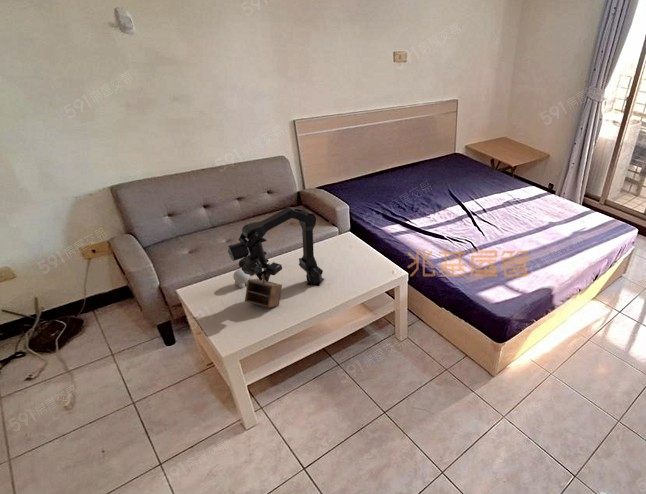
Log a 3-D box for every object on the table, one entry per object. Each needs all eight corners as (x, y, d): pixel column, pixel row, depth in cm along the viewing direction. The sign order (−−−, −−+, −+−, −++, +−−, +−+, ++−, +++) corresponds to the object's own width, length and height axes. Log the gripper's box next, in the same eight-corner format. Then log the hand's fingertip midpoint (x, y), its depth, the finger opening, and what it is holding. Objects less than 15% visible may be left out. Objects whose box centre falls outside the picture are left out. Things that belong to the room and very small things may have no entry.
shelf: (259, 269, 193) (249, 270, 187) (283, 275, 191) (273, 276, 184) (255, 299, 195) (244, 301, 188) (278, 305, 192) (268, 307, 185)
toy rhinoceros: (263, 279, 209) (260, 265, 204) (240, 290, 200) (236, 276, 196) (255, 274, 212) (252, 260, 207) (232, 284, 204) (228, 270, 199)
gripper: (224, 256, 175) (234, 286, 184) (262, 266, 171) (269, 295, 180) (243, 244, 184) (252, 272, 193) (279, 252, 180) (286, 281, 189)
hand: (264, 280), depth 188 cm, fingers closed on shelf, 3 cm apart
